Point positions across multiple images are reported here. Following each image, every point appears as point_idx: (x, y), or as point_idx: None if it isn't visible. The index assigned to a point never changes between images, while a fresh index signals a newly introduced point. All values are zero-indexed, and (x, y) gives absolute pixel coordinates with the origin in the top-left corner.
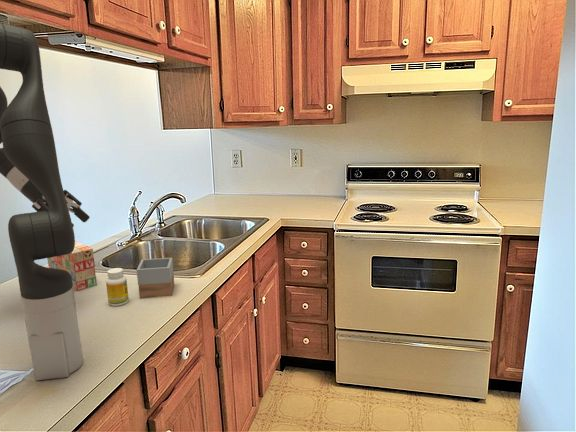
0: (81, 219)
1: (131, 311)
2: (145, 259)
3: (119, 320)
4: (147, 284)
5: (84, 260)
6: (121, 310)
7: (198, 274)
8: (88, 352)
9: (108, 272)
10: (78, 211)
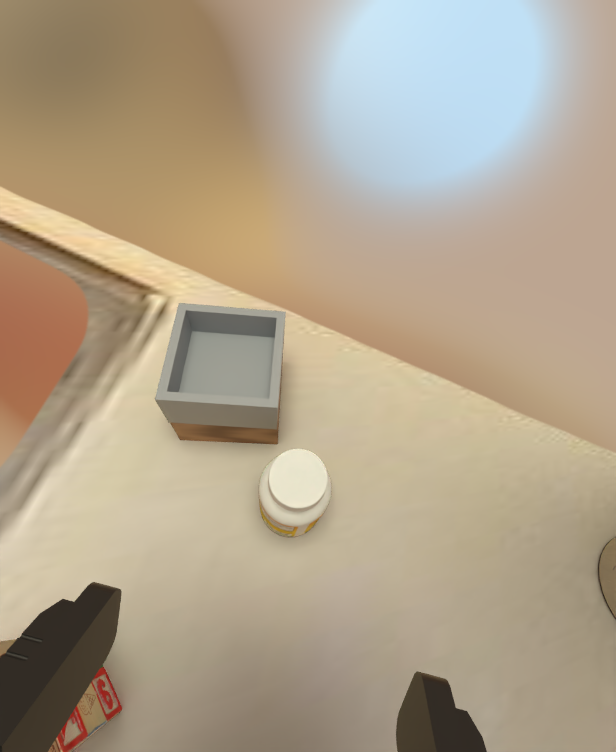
0: (85, 682)
1: (364, 458)
2: (161, 385)
3: (416, 483)
4: (279, 402)
5: None
6: (352, 487)
7: (144, 298)
8: (581, 532)
9: (317, 500)
10: (23, 743)
